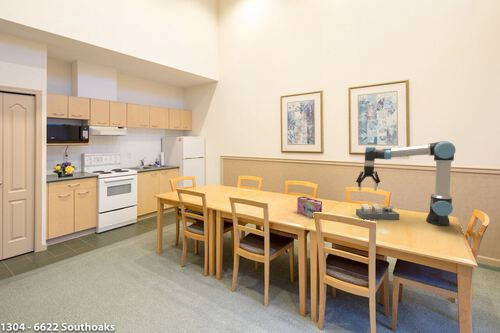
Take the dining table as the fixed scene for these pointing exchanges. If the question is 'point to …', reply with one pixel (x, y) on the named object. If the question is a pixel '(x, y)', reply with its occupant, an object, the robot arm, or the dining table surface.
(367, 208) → the switch
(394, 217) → the console
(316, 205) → the gum box
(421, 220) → the dining table surface
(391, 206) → the switch
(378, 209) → the switch
